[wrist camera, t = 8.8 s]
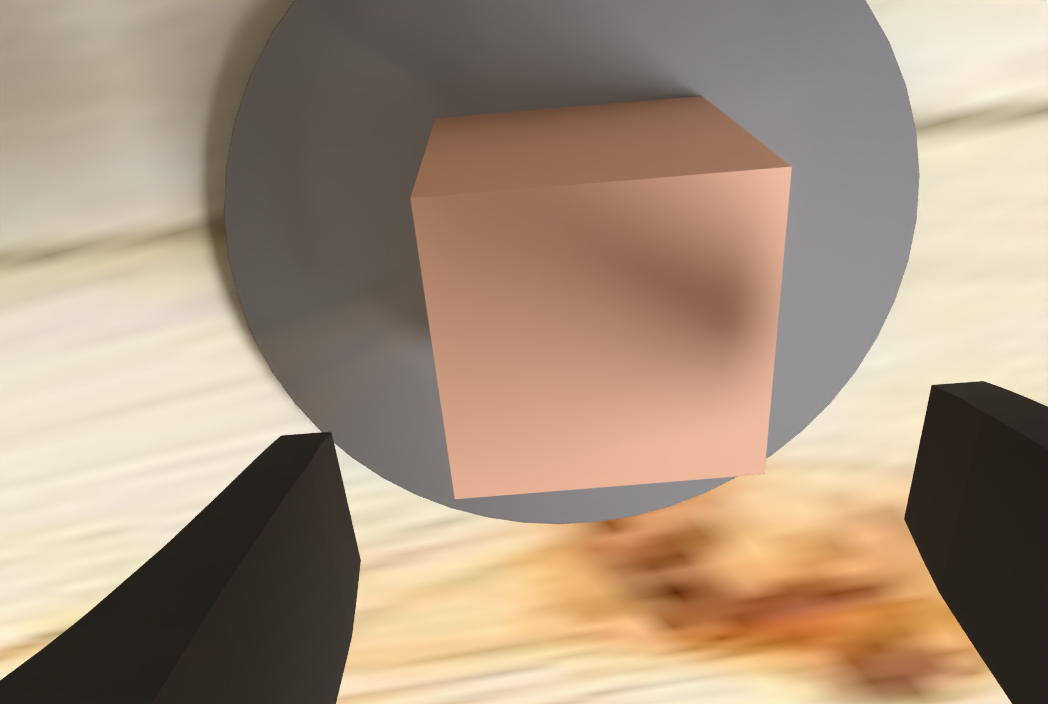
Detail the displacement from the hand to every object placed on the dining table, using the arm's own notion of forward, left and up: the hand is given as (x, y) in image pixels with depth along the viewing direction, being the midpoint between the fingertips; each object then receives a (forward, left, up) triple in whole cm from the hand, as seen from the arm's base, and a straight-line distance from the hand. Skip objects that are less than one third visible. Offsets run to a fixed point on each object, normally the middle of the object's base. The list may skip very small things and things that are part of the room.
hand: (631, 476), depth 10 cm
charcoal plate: (0, 0, -8) cm, 8 cm away
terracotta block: (0, 0, -7) cm, 7 cm away
